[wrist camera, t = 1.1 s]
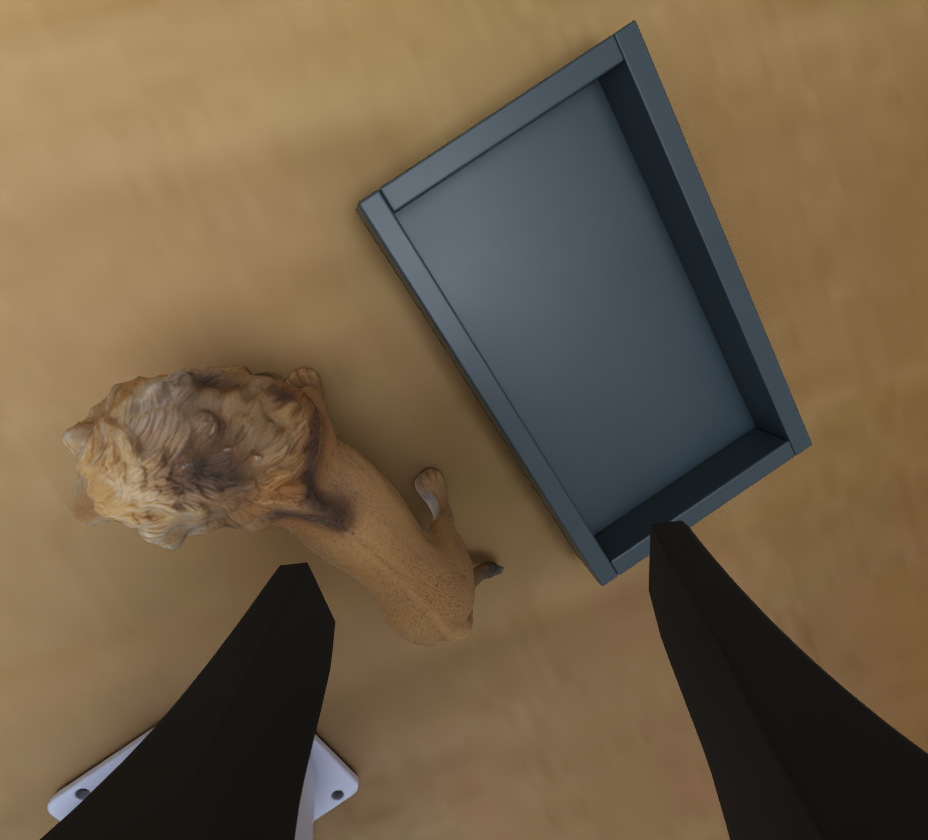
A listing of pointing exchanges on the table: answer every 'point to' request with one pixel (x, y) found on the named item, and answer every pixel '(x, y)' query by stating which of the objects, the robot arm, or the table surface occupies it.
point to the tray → (594, 304)
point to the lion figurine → (271, 487)
